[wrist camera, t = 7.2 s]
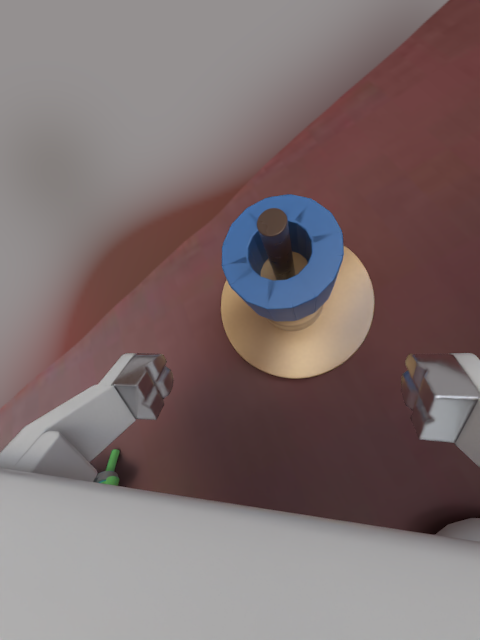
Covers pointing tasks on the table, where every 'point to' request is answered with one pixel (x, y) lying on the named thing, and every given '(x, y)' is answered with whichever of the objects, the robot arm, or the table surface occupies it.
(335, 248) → the ring
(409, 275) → the table surface
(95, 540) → the robot arm
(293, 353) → the stand
